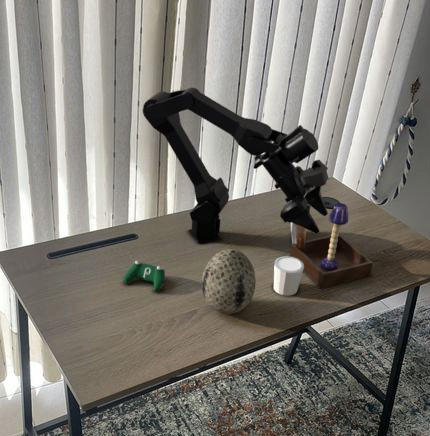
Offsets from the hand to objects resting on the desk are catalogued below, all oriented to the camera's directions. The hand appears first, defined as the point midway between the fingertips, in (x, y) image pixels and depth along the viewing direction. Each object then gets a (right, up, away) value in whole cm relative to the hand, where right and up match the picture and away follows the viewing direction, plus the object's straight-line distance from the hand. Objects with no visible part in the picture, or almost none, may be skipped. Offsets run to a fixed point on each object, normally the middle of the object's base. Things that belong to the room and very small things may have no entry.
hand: (322, 223), depth 162 cm
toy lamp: (+3, -10, +6) cm, 12 cm away
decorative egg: (-23, -21, -11) cm, 33 cm away
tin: (-5, -3, +14) cm, 15 cm away
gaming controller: (-42, -14, -5) cm, 45 cm away
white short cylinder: (-9, -16, -3) cm, 19 cm away
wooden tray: (+3, -10, +6) cm, 12 cm away
